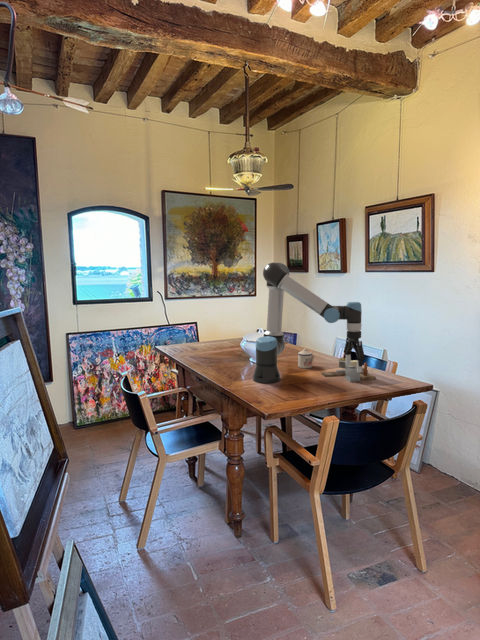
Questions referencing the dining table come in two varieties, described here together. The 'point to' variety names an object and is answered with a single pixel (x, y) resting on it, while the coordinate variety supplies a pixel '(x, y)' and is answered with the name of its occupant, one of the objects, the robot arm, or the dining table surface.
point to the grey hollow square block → (352, 374)
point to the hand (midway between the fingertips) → (353, 369)
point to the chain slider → (353, 363)
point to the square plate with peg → (366, 374)
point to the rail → (337, 373)
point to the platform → (342, 362)
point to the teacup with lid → (305, 359)
